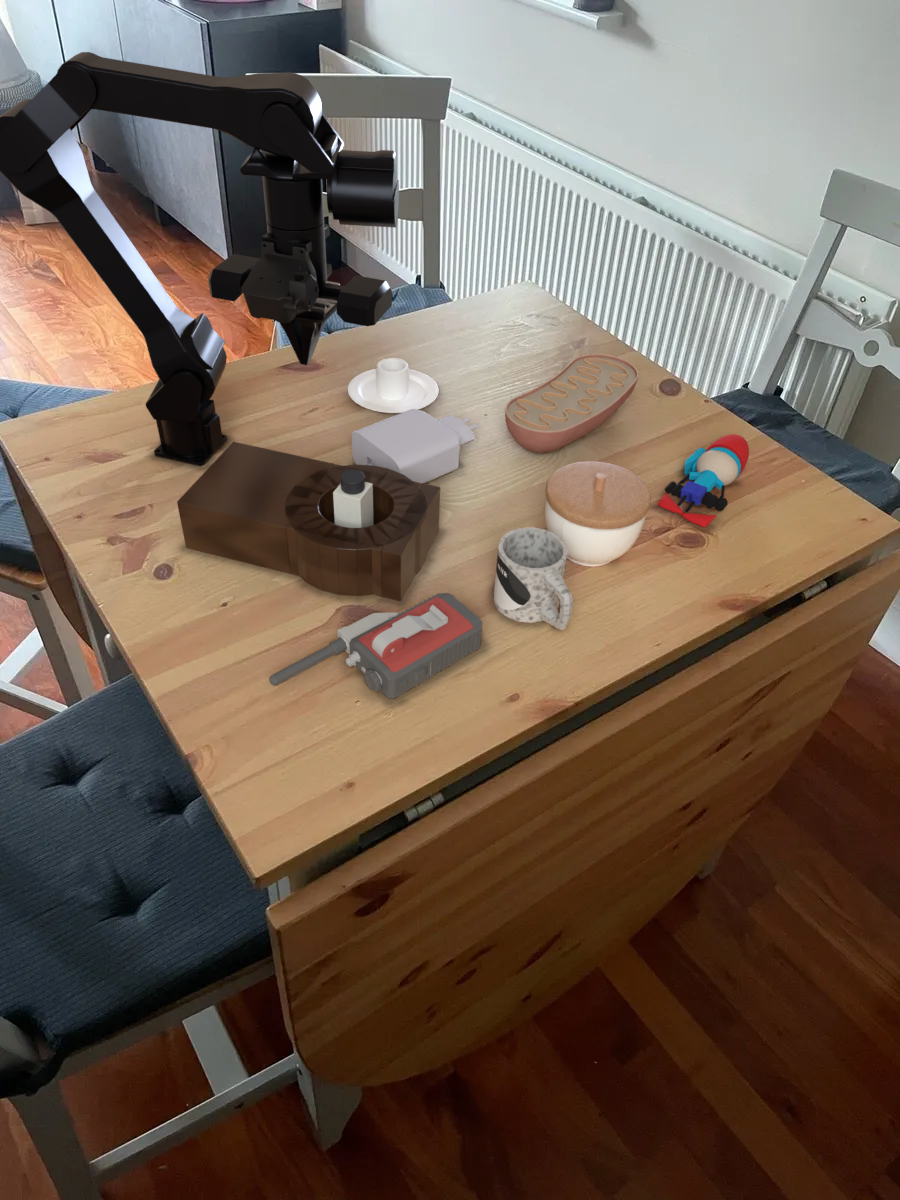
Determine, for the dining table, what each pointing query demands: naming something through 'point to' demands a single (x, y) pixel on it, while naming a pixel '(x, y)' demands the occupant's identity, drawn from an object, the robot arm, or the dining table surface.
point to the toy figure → (708, 477)
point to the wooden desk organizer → (310, 521)
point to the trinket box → (596, 510)
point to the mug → (532, 577)
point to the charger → (413, 444)
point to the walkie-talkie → (401, 645)
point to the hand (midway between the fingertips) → (305, 363)
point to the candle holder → (393, 388)
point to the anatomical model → (570, 402)
